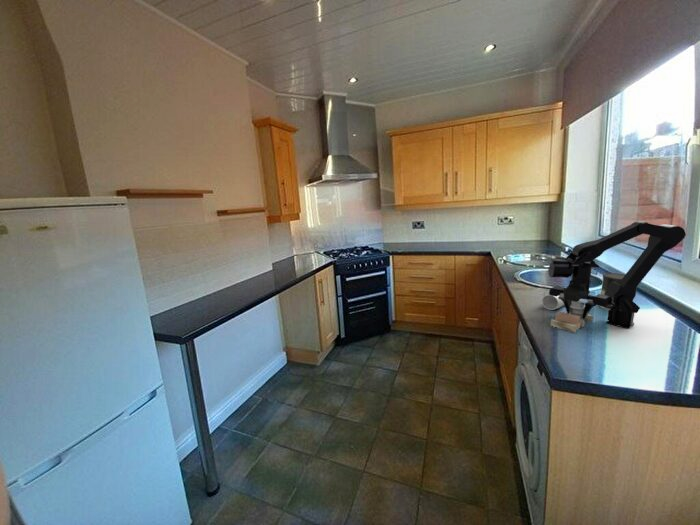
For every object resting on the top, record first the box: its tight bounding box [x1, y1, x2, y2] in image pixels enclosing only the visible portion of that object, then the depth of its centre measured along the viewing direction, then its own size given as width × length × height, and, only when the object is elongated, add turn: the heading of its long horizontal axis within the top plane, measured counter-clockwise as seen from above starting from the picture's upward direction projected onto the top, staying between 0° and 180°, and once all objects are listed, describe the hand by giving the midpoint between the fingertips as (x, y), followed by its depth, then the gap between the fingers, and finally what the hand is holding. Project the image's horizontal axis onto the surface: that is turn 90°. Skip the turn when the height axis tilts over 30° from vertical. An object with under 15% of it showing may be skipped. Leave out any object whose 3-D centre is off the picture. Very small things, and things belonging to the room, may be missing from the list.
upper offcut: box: [554, 311, 580, 325], centre depth 114 cm, size 7×3×2 cm, turn 42°
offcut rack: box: [550, 313, 594, 334], centre depth 117 cm, size 8×16×2 cm, turn 124°
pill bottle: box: [569, 299, 586, 321], centre depth 118 cm, size 5×5×8 cm
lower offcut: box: [557, 320, 581, 331], centre depth 114 cm, size 7×3×2 cm, turn 36°
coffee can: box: [598, 272, 626, 311], centre depth 129 cm, size 10×10×14 cm
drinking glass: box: [541, 293, 565, 311], centre depth 134 cm, size 7×7×15 cm
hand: (576, 316), depth 118 cm, fingers closed on pill bottle, 5 cm apart
